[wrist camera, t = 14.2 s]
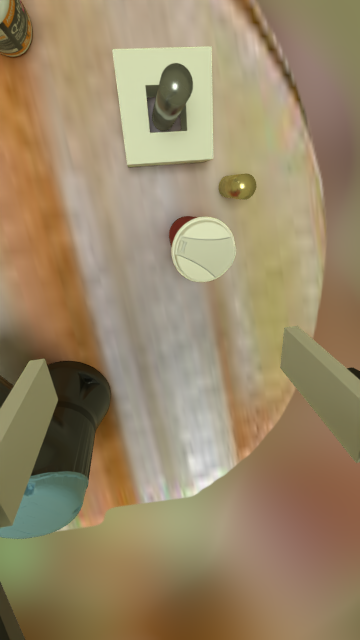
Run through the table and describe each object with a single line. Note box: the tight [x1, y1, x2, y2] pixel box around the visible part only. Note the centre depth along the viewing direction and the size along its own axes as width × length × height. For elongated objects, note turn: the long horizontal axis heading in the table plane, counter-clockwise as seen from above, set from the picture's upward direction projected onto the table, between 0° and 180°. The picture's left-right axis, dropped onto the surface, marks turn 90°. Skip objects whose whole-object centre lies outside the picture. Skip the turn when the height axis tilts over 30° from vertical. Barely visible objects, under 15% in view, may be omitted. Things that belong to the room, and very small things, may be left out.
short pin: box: [219, 174, 256, 199], centre depth 40 cm, size 3×3×7 cm
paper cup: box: [169, 216, 236, 282], centre depth 39 cm, size 8×8×14 cm
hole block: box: [112, 47, 213, 167], centre depth 36 cm, size 11×11×5 cm
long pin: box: [152, 63, 193, 131], centre depth 32 cm, size 3×3×14 cm
